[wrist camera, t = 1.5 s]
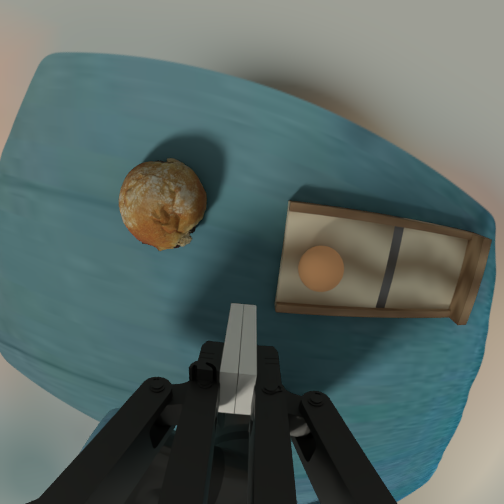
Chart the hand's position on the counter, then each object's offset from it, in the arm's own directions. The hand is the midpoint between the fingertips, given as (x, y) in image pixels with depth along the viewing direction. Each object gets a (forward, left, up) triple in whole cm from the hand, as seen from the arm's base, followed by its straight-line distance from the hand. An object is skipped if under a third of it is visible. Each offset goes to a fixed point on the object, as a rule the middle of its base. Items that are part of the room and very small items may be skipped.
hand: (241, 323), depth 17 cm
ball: (0, -8, -15) cm, 17 cm away
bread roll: (+5, +10, -17) cm, 20 cm away
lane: (0, -18, -16) cm, 25 cm away
